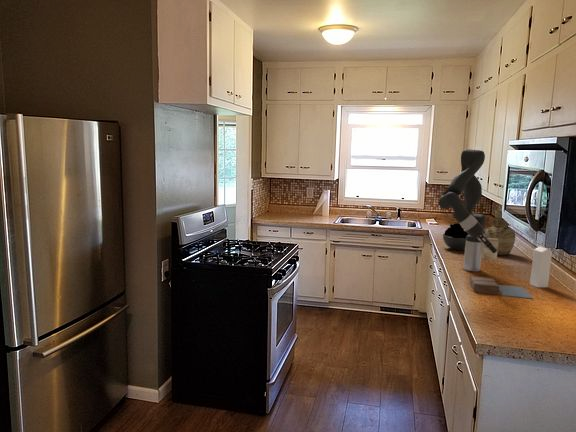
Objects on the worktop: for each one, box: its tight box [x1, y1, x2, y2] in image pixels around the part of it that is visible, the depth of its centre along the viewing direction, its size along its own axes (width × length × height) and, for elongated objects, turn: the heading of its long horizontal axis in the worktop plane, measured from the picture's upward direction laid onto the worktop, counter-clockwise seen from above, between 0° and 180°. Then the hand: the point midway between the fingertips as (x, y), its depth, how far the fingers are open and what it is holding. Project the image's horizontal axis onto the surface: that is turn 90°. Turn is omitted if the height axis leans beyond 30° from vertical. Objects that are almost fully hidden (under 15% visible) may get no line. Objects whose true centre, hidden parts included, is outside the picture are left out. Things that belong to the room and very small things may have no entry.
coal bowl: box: [442, 222, 469, 251], centre depth 314 cm, size 20×20×19 cm
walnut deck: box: [469, 275, 500, 295], centre depth 222 cm, size 15×11×4 cm
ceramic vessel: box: [484, 210, 516, 257], centre depth 305 cm, size 19×21×30 cm
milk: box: [529, 245, 553, 288], centre depth 230 cm, size 6×6×22 cm
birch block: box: [481, 238, 499, 261], centre depth 219 cm, size 4×6×10 cm, turn 75°
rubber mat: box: [498, 284, 534, 300], centre depth 219 cm, size 18×13×1 cm
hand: (494, 251), depth 219 cm, fingers closed on birch block, 4 cm apart
